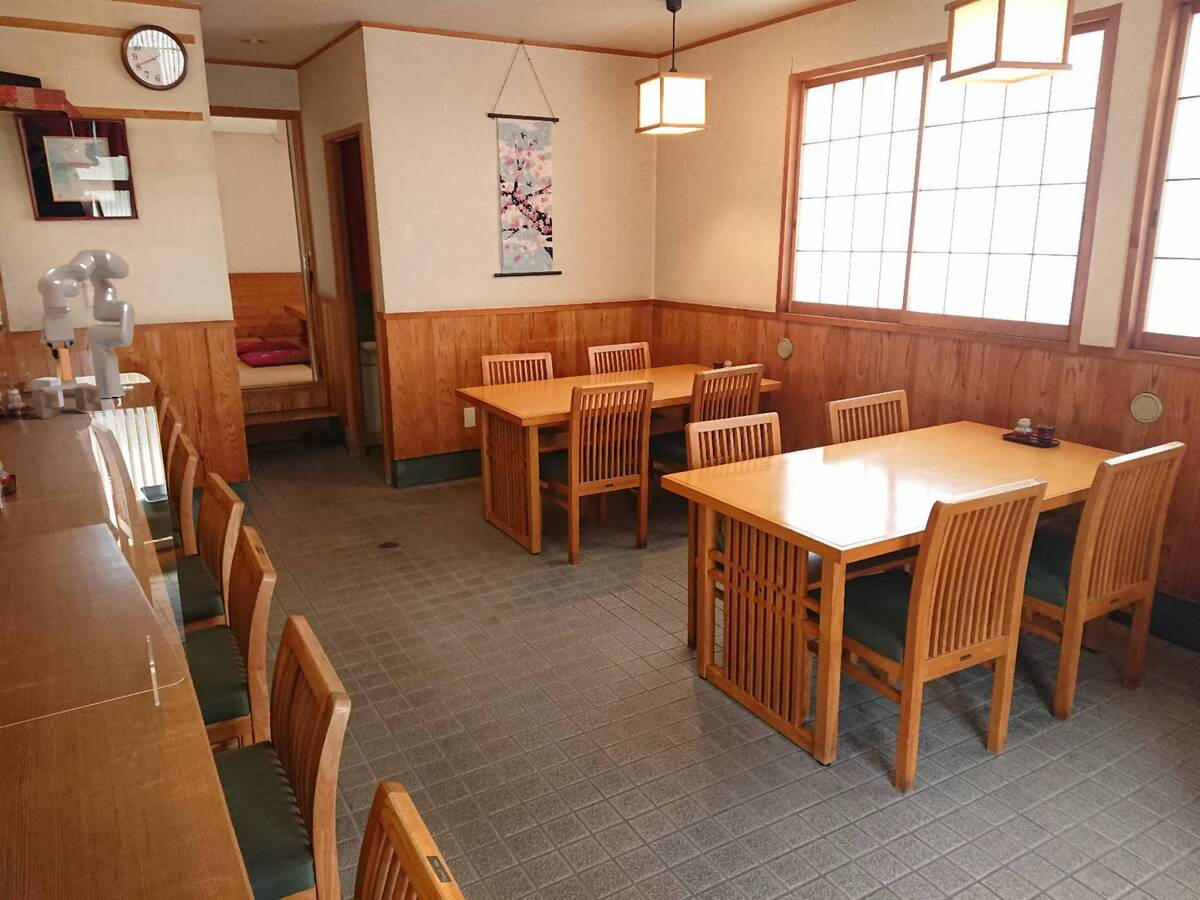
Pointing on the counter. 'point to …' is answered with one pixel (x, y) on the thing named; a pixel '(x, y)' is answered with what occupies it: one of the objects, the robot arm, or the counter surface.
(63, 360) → the orange wooden block
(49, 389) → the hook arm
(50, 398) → the shelf
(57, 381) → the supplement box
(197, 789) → the counter surface
